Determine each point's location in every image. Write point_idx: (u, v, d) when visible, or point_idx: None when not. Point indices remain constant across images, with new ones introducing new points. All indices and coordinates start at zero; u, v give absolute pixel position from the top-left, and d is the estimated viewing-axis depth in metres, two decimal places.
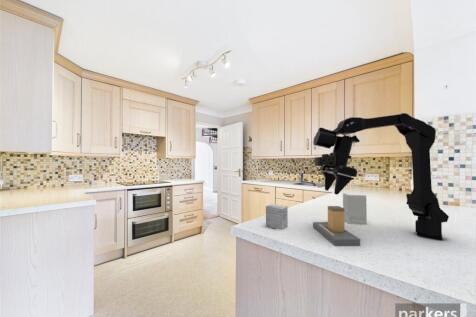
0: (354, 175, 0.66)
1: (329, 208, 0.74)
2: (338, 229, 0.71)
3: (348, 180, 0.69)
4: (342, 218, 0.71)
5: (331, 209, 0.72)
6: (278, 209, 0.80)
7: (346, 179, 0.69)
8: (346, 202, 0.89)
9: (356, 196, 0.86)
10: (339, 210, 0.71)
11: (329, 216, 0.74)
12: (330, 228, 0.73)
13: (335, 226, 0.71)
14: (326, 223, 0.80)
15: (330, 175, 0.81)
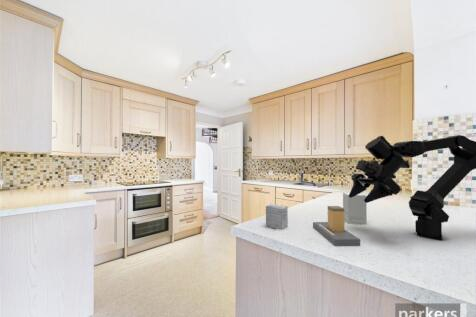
0: (396, 192, 0.64)
1: (329, 208, 0.74)
2: (338, 229, 0.71)
3: (385, 194, 0.67)
4: (342, 218, 0.71)
5: (331, 209, 0.72)
6: (278, 209, 0.80)
7: (383, 193, 0.67)
8: (346, 202, 0.89)
9: (356, 196, 0.86)
10: (339, 210, 0.71)
11: (329, 216, 0.74)
12: (330, 228, 0.73)
13: (335, 226, 0.71)
14: (326, 223, 0.80)
15: (360, 185, 0.78)
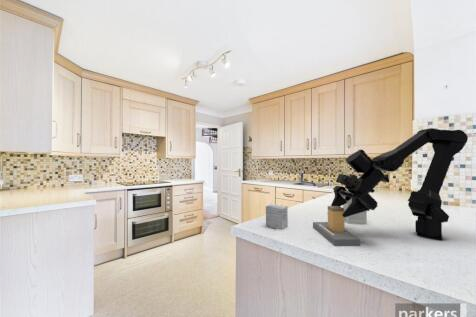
0: (373, 207, 0.64)
1: (329, 208, 0.74)
2: (338, 229, 0.71)
3: (363, 210, 0.67)
4: (342, 218, 0.71)
5: (331, 209, 0.72)
6: (278, 209, 0.80)
7: (361, 208, 0.67)
8: None
9: None
10: (339, 210, 0.71)
11: (329, 216, 0.74)
12: (330, 228, 0.73)
13: (335, 226, 0.71)
14: (326, 223, 0.80)
15: (341, 198, 0.78)
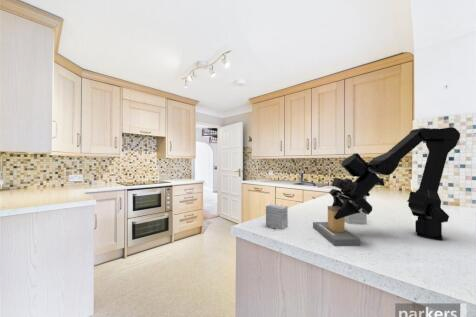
0: (368, 212, 0.64)
1: (329, 208, 0.74)
2: (338, 229, 0.71)
3: (353, 212, 0.69)
4: (342, 218, 0.71)
5: (331, 209, 0.72)
6: (278, 209, 0.80)
7: (352, 210, 0.69)
8: None
9: None
10: None
11: (329, 216, 0.74)
12: (330, 228, 0.73)
13: (335, 226, 0.71)
14: (326, 223, 0.80)
15: (340, 203, 0.76)
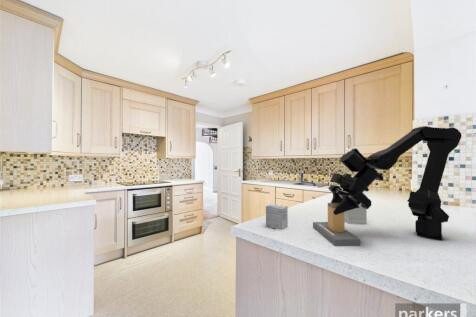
0: (367, 206, 0.64)
1: (329, 205, 0.74)
2: (338, 226, 0.71)
3: (353, 207, 0.69)
4: (342, 215, 0.71)
5: (331, 206, 0.72)
6: (278, 209, 0.80)
7: (351, 205, 0.69)
8: None
9: None
10: None
11: (329, 213, 0.74)
12: (330, 225, 0.73)
13: (335, 222, 0.71)
14: (326, 223, 0.80)
15: (339, 199, 0.76)
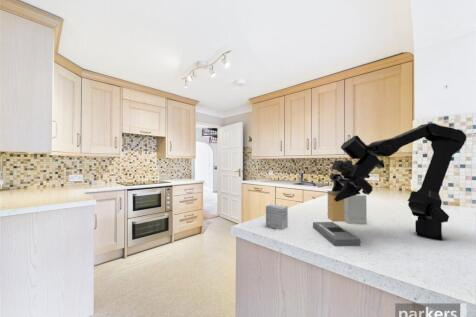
0: (368, 192, 0.64)
1: (329, 193, 0.74)
2: (338, 213, 0.71)
3: (354, 193, 0.69)
4: (342, 202, 0.71)
5: (331, 193, 0.72)
6: (278, 209, 0.80)
7: (352, 192, 0.69)
8: (346, 202, 0.89)
9: (356, 196, 0.86)
10: None
11: (329, 201, 0.74)
12: (330, 213, 0.73)
13: (335, 210, 0.71)
14: (326, 223, 0.80)
15: (340, 186, 0.76)
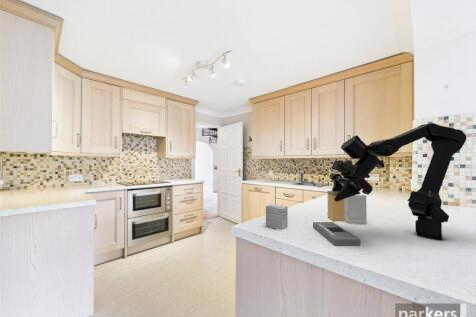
0: (368, 192, 0.64)
1: (329, 193, 0.74)
2: (338, 213, 0.71)
3: (354, 193, 0.69)
4: (342, 202, 0.71)
5: (331, 193, 0.72)
6: (278, 209, 0.80)
7: (352, 191, 0.69)
8: (346, 202, 0.89)
9: (356, 196, 0.86)
10: None
11: (329, 201, 0.74)
12: (330, 213, 0.73)
13: (335, 210, 0.71)
14: (326, 223, 0.80)
15: (340, 186, 0.76)
